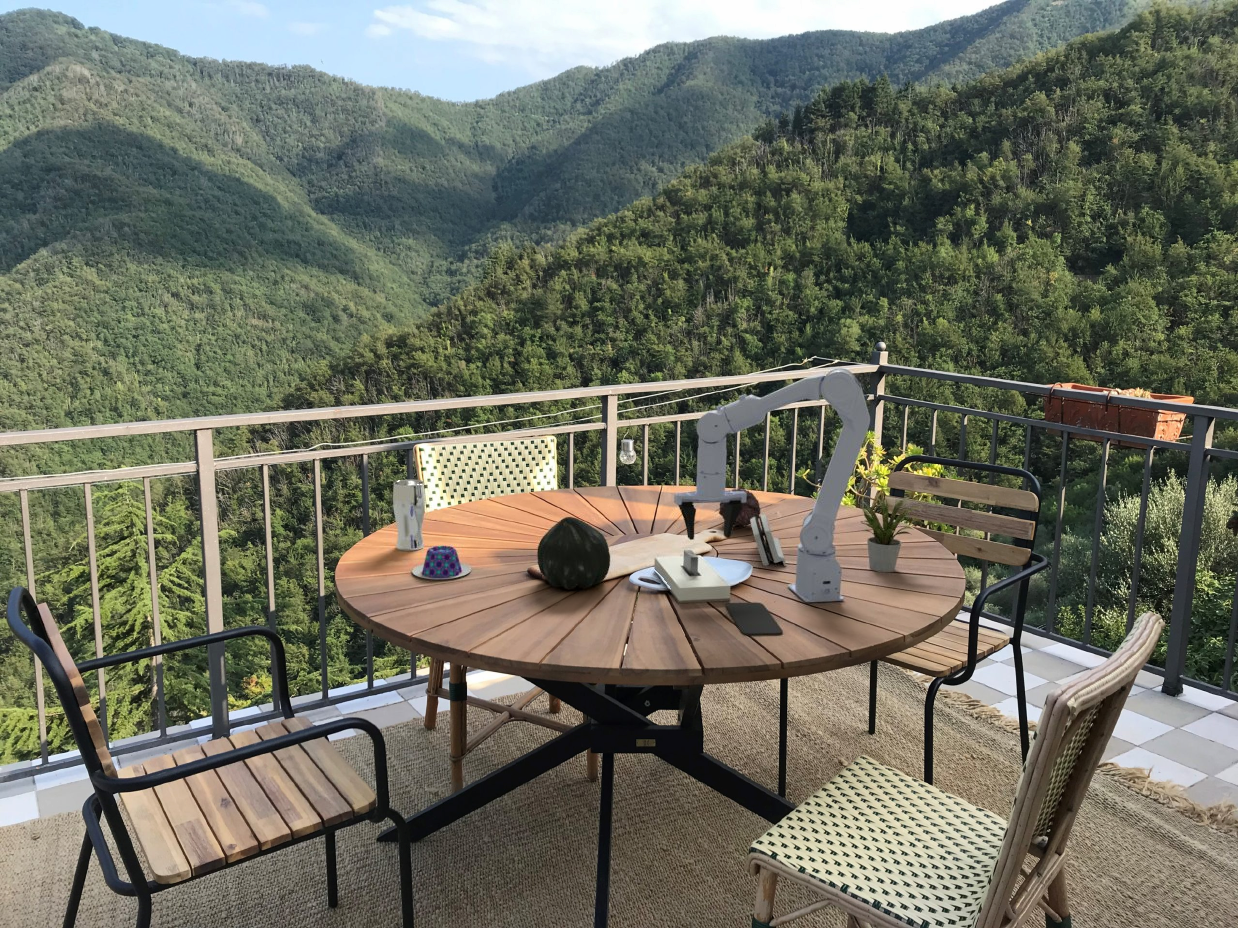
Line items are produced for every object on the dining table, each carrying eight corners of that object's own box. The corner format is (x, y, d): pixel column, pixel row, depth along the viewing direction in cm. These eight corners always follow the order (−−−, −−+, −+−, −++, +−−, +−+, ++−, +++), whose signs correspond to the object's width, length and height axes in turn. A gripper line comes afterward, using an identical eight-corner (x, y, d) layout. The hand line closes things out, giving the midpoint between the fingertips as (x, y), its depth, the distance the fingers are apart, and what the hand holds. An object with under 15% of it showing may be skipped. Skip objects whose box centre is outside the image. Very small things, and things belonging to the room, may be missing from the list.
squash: (607, 543, 183) (563, 495, 177) (634, 566, 169) (587, 515, 163) (558, 590, 181) (512, 543, 175) (581, 617, 168) (532, 567, 162)
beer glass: (387, 548, 194) (385, 483, 192) (408, 541, 201) (407, 478, 198) (411, 553, 191) (410, 487, 188) (432, 545, 197) (431, 481, 195)
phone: (742, 633, 148) (723, 602, 163) (742, 638, 149) (723, 606, 163) (784, 632, 149) (762, 602, 164) (784, 637, 149) (761, 606, 164)
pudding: (404, 569, 181) (403, 545, 180) (458, 561, 187) (458, 538, 186) (423, 586, 171) (422, 560, 170) (480, 577, 177) (480, 552, 176)
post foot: (729, 600, 166) (730, 585, 165) (679, 603, 164) (679, 587, 163) (699, 568, 185) (700, 555, 184) (654, 570, 183) (654, 557, 182)
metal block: (697, 586, 172) (698, 557, 171) (689, 586, 172) (690, 557, 171) (689, 578, 177) (691, 549, 176) (682, 578, 176) (683, 550, 175)
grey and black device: (786, 566, 188) (773, 523, 186) (765, 572, 188) (752, 530, 187) (780, 545, 204) (768, 505, 203) (761, 550, 205) (748, 511, 203)
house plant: (920, 562, 193) (927, 491, 190) (924, 581, 180) (931, 505, 177) (854, 556, 196) (859, 486, 193) (853, 574, 183) (859, 499, 180)
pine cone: (771, 536, 212) (773, 496, 210) (732, 537, 210) (734, 497, 208) (746, 518, 229) (747, 481, 227) (710, 519, 227) (711, 482, 225)
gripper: (739, 466, 177) (736, 531, 180) (670, 468, 175) (669, 533, 177) (751, 473, 171) (748, 540, 173) (680, 475, 168) (678, 543, 170)
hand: (708, 537), depth 175 cm, fingers open, 7 cm apart
